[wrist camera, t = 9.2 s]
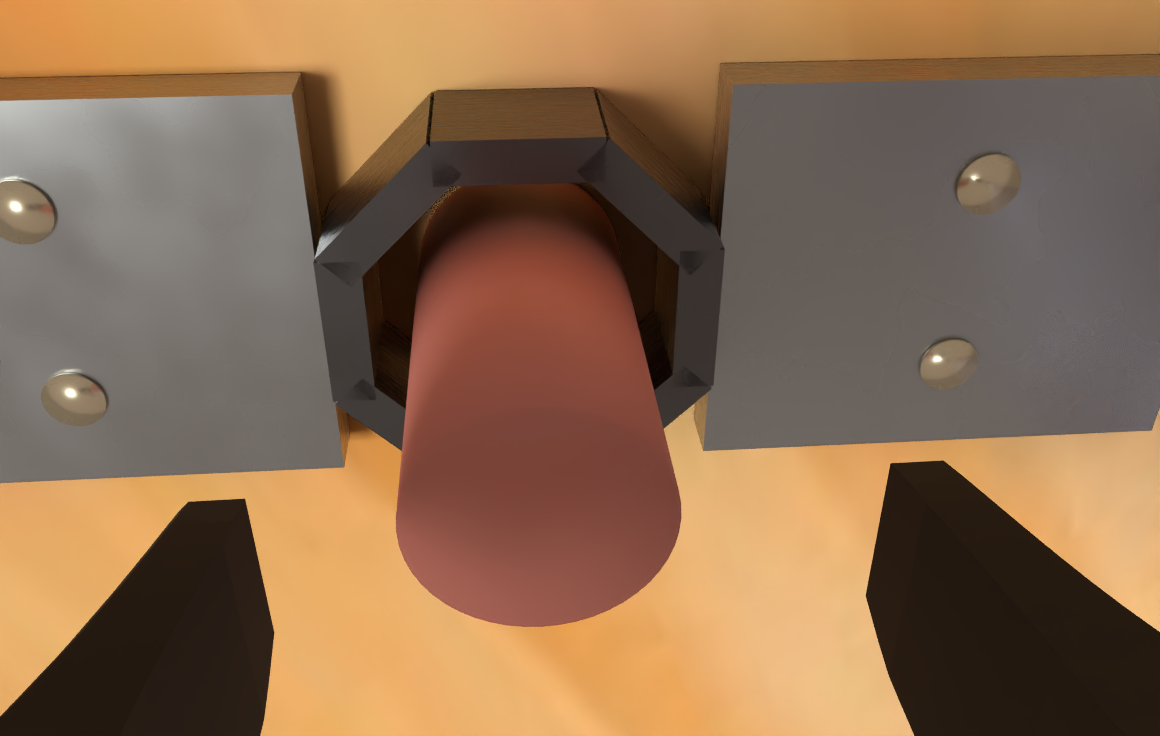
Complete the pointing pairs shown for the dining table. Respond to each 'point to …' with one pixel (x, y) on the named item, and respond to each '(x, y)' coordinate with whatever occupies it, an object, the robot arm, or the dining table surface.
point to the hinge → (641, 193)
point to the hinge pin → (530, 414)
